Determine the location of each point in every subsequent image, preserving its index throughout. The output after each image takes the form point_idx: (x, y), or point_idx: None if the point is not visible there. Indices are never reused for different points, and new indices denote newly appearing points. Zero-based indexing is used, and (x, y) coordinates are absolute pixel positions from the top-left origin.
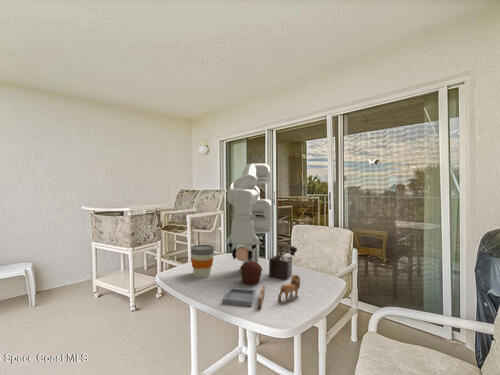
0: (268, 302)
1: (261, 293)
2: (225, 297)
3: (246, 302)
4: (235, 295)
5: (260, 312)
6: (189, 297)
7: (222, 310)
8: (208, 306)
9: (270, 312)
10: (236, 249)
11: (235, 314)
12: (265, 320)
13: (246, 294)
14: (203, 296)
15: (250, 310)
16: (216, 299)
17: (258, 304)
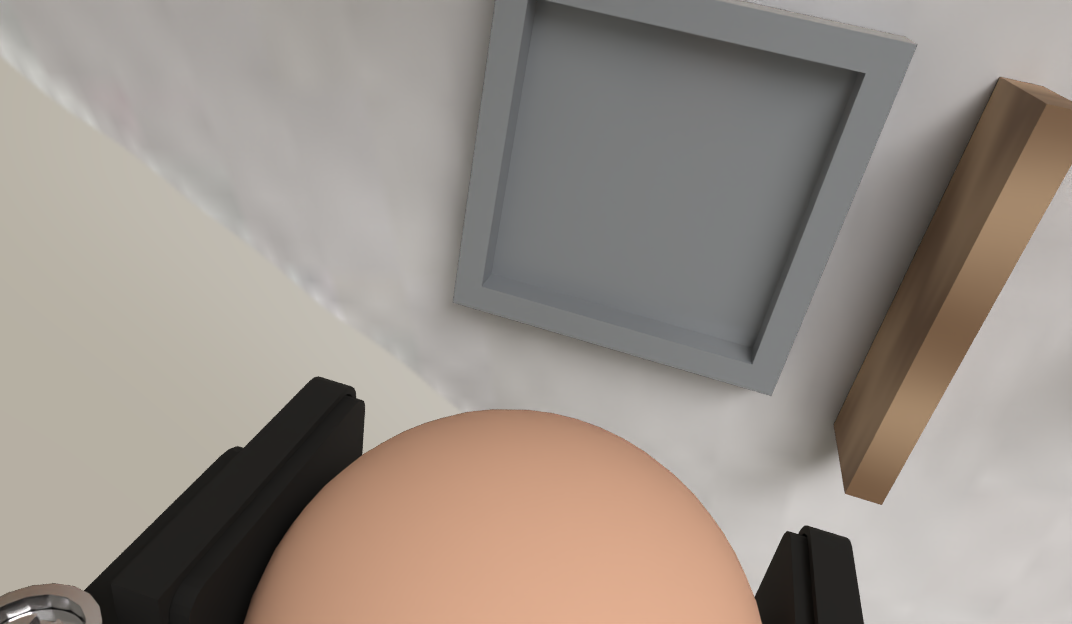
0: (1016, 301)
1: (934, 370)
2: (473, 267)
3: (712, 373)
4: (593, 136)
5: (842, 482)
6: (117, 129)
7: (482, 403)
8: (348, 324)
9: (951, 497)
10: (203, 587)
11: None
12: None
13: (747, 107)
14: (237, 108)
15: (745, 437)
16: (388, 188)
17: (841, 454)
